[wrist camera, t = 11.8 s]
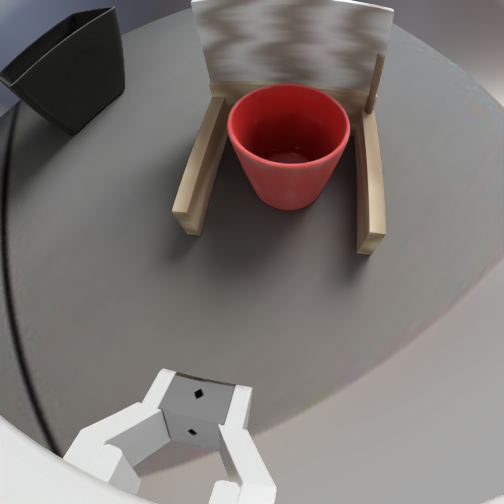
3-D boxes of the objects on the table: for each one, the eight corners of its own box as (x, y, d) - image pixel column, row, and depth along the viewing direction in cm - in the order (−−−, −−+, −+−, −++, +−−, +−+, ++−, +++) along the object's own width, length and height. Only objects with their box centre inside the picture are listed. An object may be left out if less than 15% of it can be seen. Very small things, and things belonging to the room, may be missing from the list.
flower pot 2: (351, 168, 32) (368, 107, 23) (306, 242, 29) (316, 188, 20) (273, 133, 35) (269, 71, 26) (221, 196, 32) (200, 136, 23)
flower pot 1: (36, 127, 44) (-6, 74, 28) (101, 68, 48) (72, 11, 33) (66, 157, 38) (9, 86, 23) (149, 82, 43) (117, 5, 27)
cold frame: (187, 234, 31) (105, 107, 14) (222, 117, 37) (193, -1, 20) (370, 255, 28) (452, 128, 11) (364, 129, 34) (392, 8, 17)
